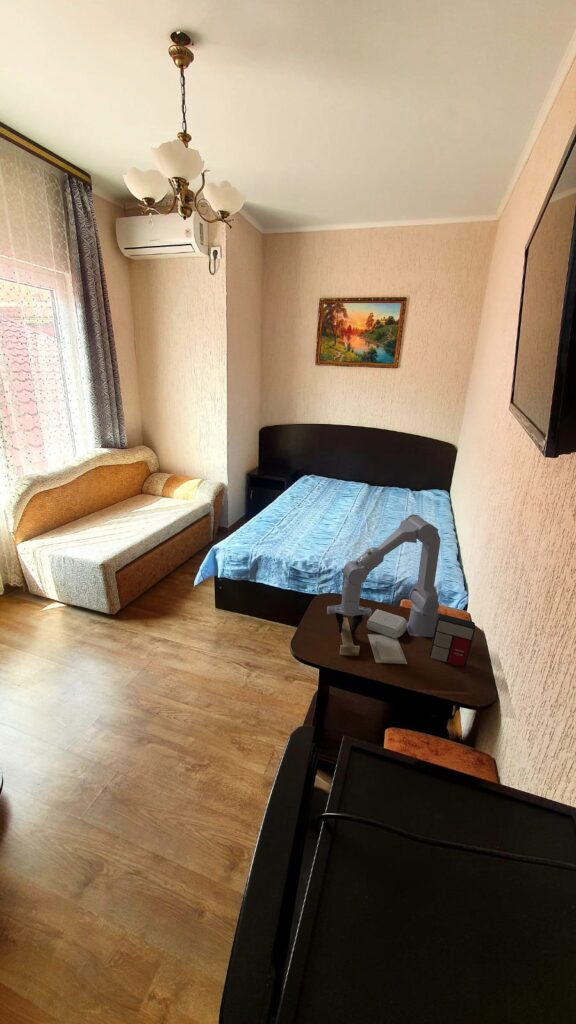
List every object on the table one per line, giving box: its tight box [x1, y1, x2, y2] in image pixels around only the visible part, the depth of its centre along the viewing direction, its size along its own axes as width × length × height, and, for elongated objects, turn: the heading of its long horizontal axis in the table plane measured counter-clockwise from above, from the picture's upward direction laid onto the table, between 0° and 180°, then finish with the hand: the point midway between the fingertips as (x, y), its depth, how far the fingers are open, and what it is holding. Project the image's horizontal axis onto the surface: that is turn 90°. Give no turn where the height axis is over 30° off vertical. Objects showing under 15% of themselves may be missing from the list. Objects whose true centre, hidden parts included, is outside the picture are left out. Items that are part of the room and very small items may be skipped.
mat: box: [367, 633, 408, 665], centre depth 134 cm, size 10×14×1 cm
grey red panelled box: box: [428, 612, 476, 668], centre depth 129 cm, size 11×4×15 cm, turn 68°
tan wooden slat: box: [339, 617, 361, 657], centre depth 136 cm, size 6×16×4 cm, turn 0°
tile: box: [375, 641, 404, 665], centre depth 131 cm, size 7×2×9 cm
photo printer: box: [366, 608, 408, 639], centre depth 144 cm, size 10×4×12 cm
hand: (346, 631), depth 137 cm, fingers open, 4 cm apart
